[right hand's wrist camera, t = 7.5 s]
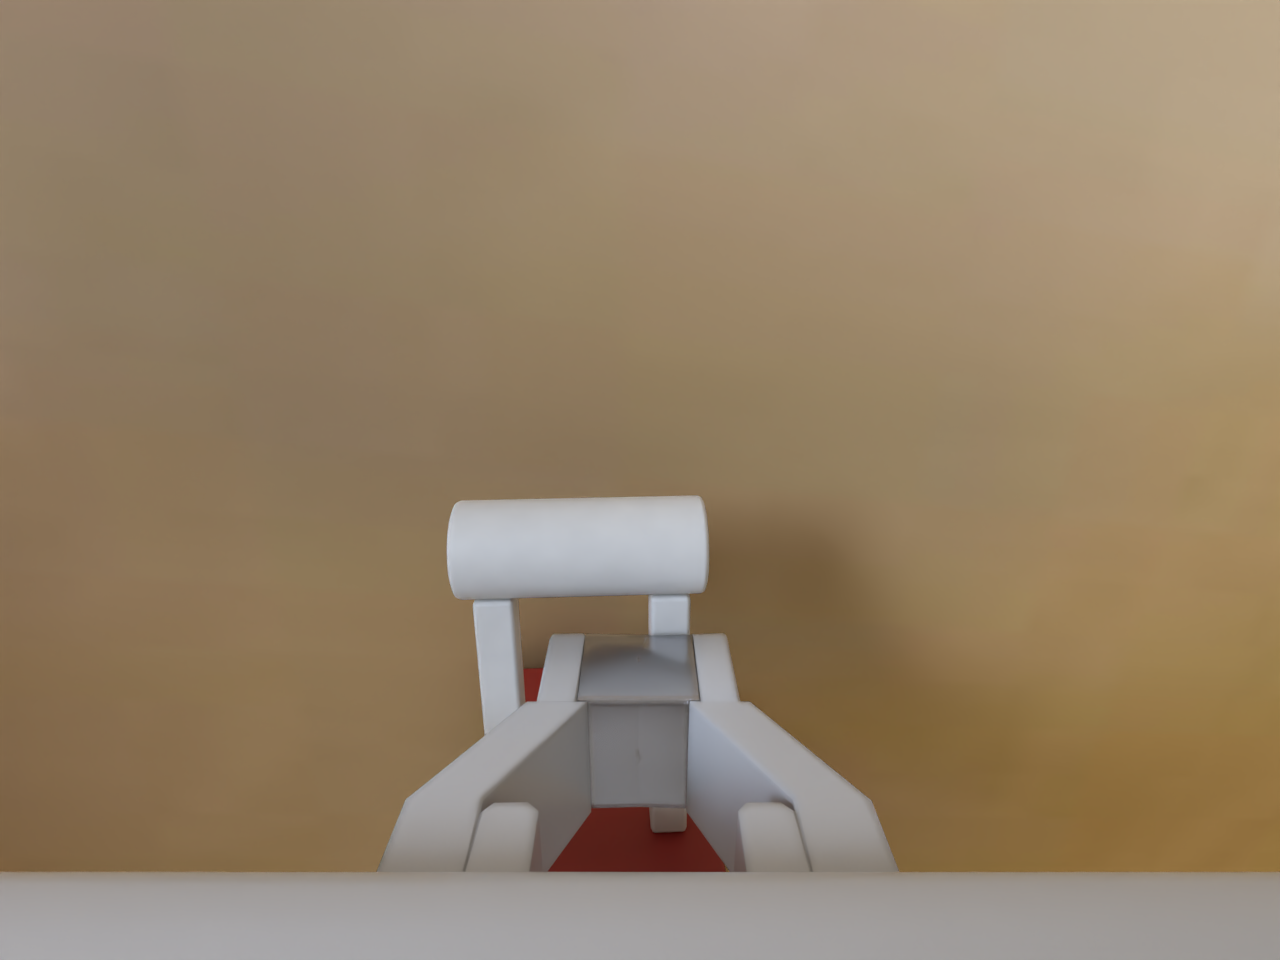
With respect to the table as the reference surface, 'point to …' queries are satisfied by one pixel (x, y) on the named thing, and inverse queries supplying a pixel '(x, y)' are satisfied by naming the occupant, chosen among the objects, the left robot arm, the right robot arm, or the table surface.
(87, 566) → the table surface
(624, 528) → the drawer
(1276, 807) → the table surface
